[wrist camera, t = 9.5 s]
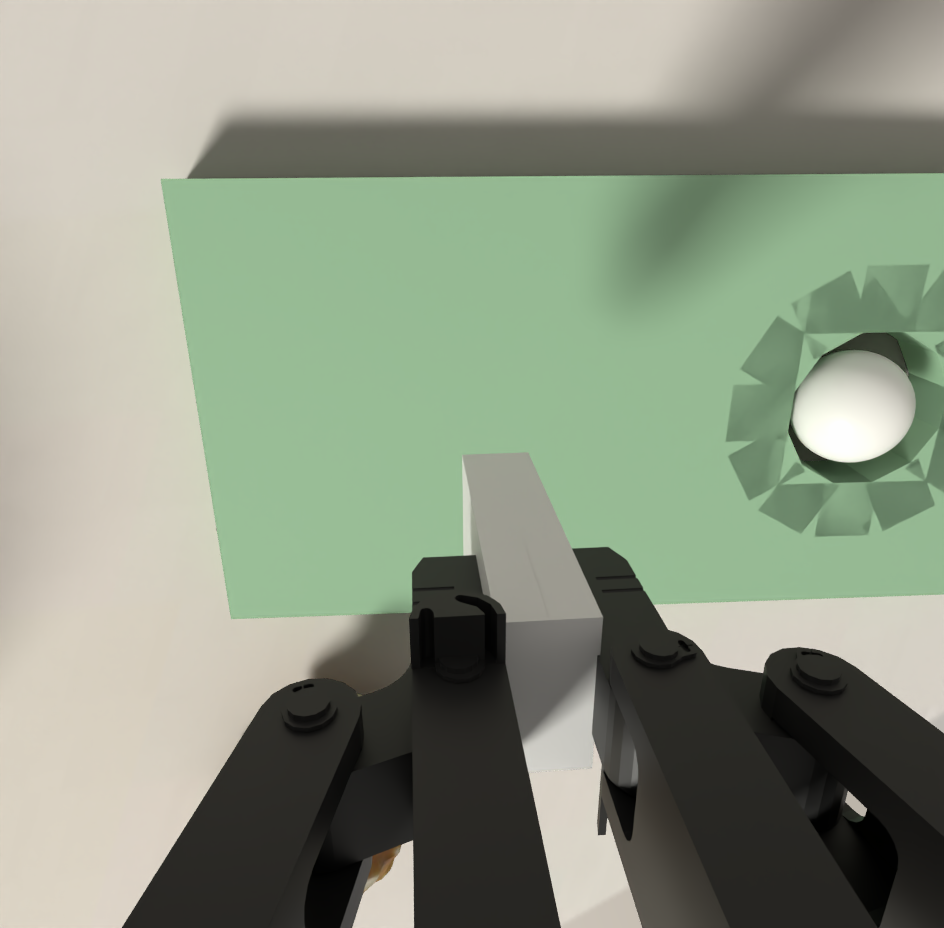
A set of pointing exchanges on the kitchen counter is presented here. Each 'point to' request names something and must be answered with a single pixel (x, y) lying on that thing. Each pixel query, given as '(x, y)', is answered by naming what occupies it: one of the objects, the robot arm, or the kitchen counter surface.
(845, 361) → the ball
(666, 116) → the kitchen counter surface
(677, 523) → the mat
